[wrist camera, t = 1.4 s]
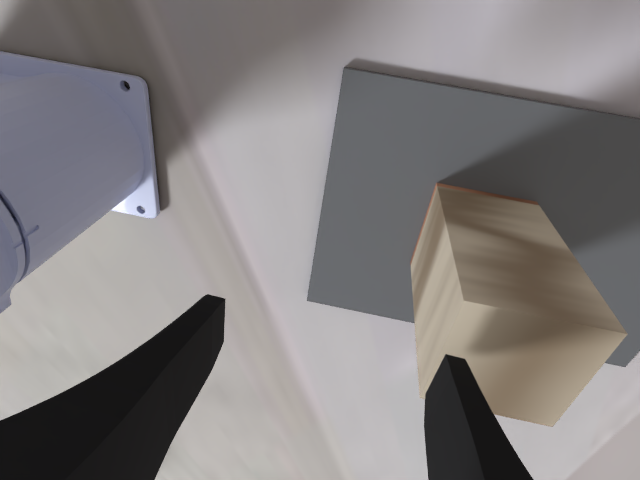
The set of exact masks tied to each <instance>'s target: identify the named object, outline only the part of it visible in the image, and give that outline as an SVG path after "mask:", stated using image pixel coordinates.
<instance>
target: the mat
mask: <svg viewBox="0 0 640 480" xmlns="http://www.w3.org/2000/svg"><path fill="white" fill-rule="evenodd" d="M436 183H440V184H446V185H451V186H456V187H462V188H467V189H472V190H477V191H483V192H488V193H493V194H499V195H504V196H509V197H514V198H520V199H525V200H530V201H536V202H537V203H538V204H539V206H540V207H541V209H542V210H543V212H544V213H545V214H546V216H547V217H548V219H549V220H550V222H551V223H552V225H553V226H554V228H555V229H556V230H557V232H558V233H559V235H560V236H561V238H562V239H563V241H564V242H565V244H566V245H567V246H568V248H569V249H570V251H571V252H572V254H573V255H574V257H575V258H576V260H577V261H578V262H579V264H580V265H581V267H582V268H583V270H584V271H585V273H586V274H587V276H588V277H589V278H590V280H591V281H592V283H593V284H594V286H595V287H596V289H597V290H598V292H599V293H600V294H601V296H602V297H603V299H604V300H605V302H606V303H607V305H608V306H609V308H610V309H611V311H612V312H613V313H614V315H615V316H616V318H617V319H618V321H619V322H620V324H621V325H622V327H623V328H624V329H625V331H626V332H627V336H626V337H625V338H624V339H623V341H622V342H621V343H620V344H619V345H618V347H617V348H616V349H615V350H614V352H613V353H612V354H611V355H610V357H609V358H608V359H607V360H606V362H605V363H608V364H613V365H617V366H622V367H626V366H627V364H628V363H629V362H630V361H631V360H632V359H633V358H634V356H635V355H636V354H637V353H638V352H639V351H640V119H638V118H632V117H627V116H621V115H615V114H610V113H604V112H598V111H593V110H587V109H581V108H575V107H570V106H564V105H558V104H553V103H547V102H541V101H536V100H530V99H524V98H519V97H513V96H507V95H502V94H496V93H490V92H485V91H479V90H473V89H467V88H462V87H456V86H450V85H445V84H439V83H433V82H428V81H422V80H416V79H411V78H405V77H399V76H394V75H388V74H382V73H377V72H371V71H365V70H359V69H354V68H348V67H344V70H343V76H342V83H341V89H340V95H339V102H338V108H337V114H336V121H335V127H334V133H333V139H332V146H331V152H330V158H329V165H328V171H327V177H326V184H325V190H324V196H323V203H322V209H321V215H320V221H319V228H318V234H317V240H316V247H315V253H314V259H313V266H312V272H311V278H310V284H309V291H308V297H307V301H311V302H315V303H320V304H325V305H330V306H335V307H339V308H344V309H349V310H354V311H359V312H363V313H368V314H373V315H378V316H382V317H387V318H392V319H397V320H402V321H406V322H411V323H415V322H414V307H413V293H412V279H411V265H410V261H411V258H412V255H413V252H414V249H415V246H416V243H417V240H418V237H419V234H420V231H421V228H422V225H423V222H424V219H425V216H426V213H427V210H428V207H429V204H430V200H431V197H432V194H433V191H434V188H435V185H436Z"/></svg>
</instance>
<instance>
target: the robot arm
mask: <svg viewBox="0 0 640 480" xmlns="http://www.w3.org/2000/svg"><path fill="white" fill-rule="evenodd" d="M124 81H126V82H127V83H128V84H129V86H130V90H129V89H127V88H126V87H125V85H124ZM140 206H142V207H143V208H144V209H145V210H142V209H141V207H140ZM110 210H111V211H116V212H121V213H126V214H131V215H136V216H141V217H146V218H155V217H157V216H158V215H159V213H160V205H159V195H158V185H157V175H156V165H155V155H154V145H153V135H152V125H151V115H150V104H149V94H148V87H147V84H146V82H145V81H144V80H143V79H142V78H141V77H139V76H135V75H129V74H124V73H118V72H113V71H107V70H102V69H96V68H91V67H85V66H80V65H74V64H69V63H63V62H58V61H52V60H47V59H41V58H36V57H30V56H25V55H19V54H14V53H9V52H3V51H0V313H2V312H3V311H4V310H5V309H6V308H8V307H9V306H10V305H11V300H10V292H11V289H12V288H13V287H14V286H15V285H16V284H17V283H18V282H20V281H21V280H22V279H24V278H25V277H26V276H28V275H29V274H30V273H31V272H33V271H34V270H35V269H36V268H38V267H39V266H40V265H42V264H43V263H44V262H45V261H47V260H48V259H49V258H50V257H52V256H53V255H54V254H56V253H57V252H58V251H59V250H61V249H62V248H63V247H64V246H66V245H67V244H68V243H70V242H71V241H72V240H73V239H75V238H76V237H77V236H78V235H80V234H81V233H82V232H84V231H85V230H86V229H87V228H89V227H90V226H91V225H92V224H94V223H95V222H96V221H98V220H99V219H100V218H101V217H103V216H104V215H105V214H106V213H108V212H109V211H110ZM224 318H225V299H224V298H220V297H216V296H212V295H208V294H207V295H205V296H204V297H202V298H201V299H200V300H199V301H198V302H197V303H195V304H194V305H193V306H192V307H191V308H189V309H188V310H187V311H186V312H185V313H183V314H182V315H181V316H180V317H178V318H177V319H176V320H175V321H173V322H172V323H171V324H170V325H168V326H167V327H166V328H164V329H163V330H162V331H160V332H159V333H158V334H156V335H155V336H154V337H152V338H151V339H150V340H148V341H147V342H145V343H144V344H142V345H141V346H140V347H138V348H137V349H135V350H134V351H132V352H131V353H129V354H128V355H127V356H125V357H123V358H122V359H120V360H119V361H117V362H116V363H114V364H112V365H111V366H109V367H107V368H106V369H104V370H102V371H101V372H99V373H97V374H96V375H94V376H92V377H90V378H88V379H87V380H85V381H83V382H81V383H79V384H77V385H76V386H74V387H72V388H70V389H68V390H66V391H64V392H62V393H60V394H58V395H56V396H54V397H52V398H50V399H48V400H46V401H43V402H41V403H39V404H37V405H35V406H33V407H30V408H28V409H26V410H24V411H22V412H20V413H17V414H15V415H13V416H10V417H8V418H6V419H3V420H1V421H0V480H155V477H156V475H157V473H158V471H159V468H160V466H161V464H162V462H163V460H164V457H165V455H166V453H167V451H168V448H169V446H170V444H171V442H172V440H173V439H174V437H175V435H176V433H177V431H178V429H179V427H180V426H181V424H182V422H183V420H184V419H185V417H186V415H187V413H188V412H189V410H190V408H191V406H192V405H193V403H194V401H195V399H196V397H197V396H198V394H199V392H200V390H201V389H202V387H203V385H204V383H205V381H206V380H207V378H208V376H209V374H210V372H211V371H212V368H213V366H214V364H215V361H216V359H217V357H218V354H219V352H220V350H221V347H222V345H223V342H224ZM424 430H425V443H426V455H427V467H428V479H429V480H533V479H532V477H531V476H530V474H529V472H528V471H527V469H526V468H525V466H524V465H523V463H522V462H521V460H520V458H519V457H518V455H517V454H516V452H515V450H514V449H513V447H512V445H511V444H510V442H509V440H508V439H507V437H506V435H505V434H504V432H503V430H502V428H501V426H500V425H499V423H498V421H497V419H496V417H495V416H494V414H493V412H492V410H491V408H490V406H489V405H488V403H487V401H486V399H485V397H484V395H483V393H482V391H481V389H480V387H479V385H478V383H477V381H476V379H475V377H474V375H473V373H472V371H471V369H470V367H469V365H468V363H467V361H466V360H465V359H464V358H460V357H456V356H452V355H448V354H445V356H444V358H443V360H442V362H441V364H440V366H439V368H438V370H437V372H436V374H435V376H434V378H433V380H432V382H431V384H430V386H429V388H428V390H427V392H426V394H425V417H424Z"/></svg>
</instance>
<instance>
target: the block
mask: <svg viewBox="0 0 640 480" xmlns="http://www.w3.org/2000/svg"><path fill="white" fill-rule="evenodd" d="M410 265H411V279H412V293H413V307H414V322H415V336H416V350H417V364H418V379H419V393H420V398H422V399H425V394H426V392H427V390H428V388H429V386H430V384H431V382H432V380H433V378H434V376H435V374H436V372H437V370H438V368H439V366H440V364H441V362H442V360H443V358H444V356H445V354H448V355H452V356H456V357H460V358H464V359H465V360H466V361H467V363H468V365H469V367H470V369H471V371H472V373H473V375H474V377H475V379H476V381H477V383H478V385H479V387H480V389H481V391H482V393H483V395H484V397H485V399H486V401H487V403H488V405H489V406H490V408H491V410H492V412H493V414H495V415H500V416H505V417H509V418H514V419H518V420H523V421H527V422H532V423H537V424H541V425H546V426H550V427H553V426H554V425H555V423H556V422H557V421H558V420H559V418H560V417H561V416H562V415H563V413H564V412H565V411H566V410H567V408H568V407H569V406H570V405H571V404H572V402H573V401H574V400H575V399H576V397H577V396H578V395H579V394H580V392H581V391H582V390H583V389H584V387H585V386H586V385H587V384H588V383H589V381H590V380H591V379H592V378H593V376H594V375H595V374H596V373H597V371H598V370H599V369H600V368H601V366H602V365H603V364H604V363H605V362H606V360H607V359H608V358H609V357H610V355H611V354H612V353H613V352H614V350H615V349H616V348H617V347H618V345H619V344H620V343H621V342H622V341H623V339H624V338H625V337H626V336H627V332H626V331H625V329H624V328H623V327H622V325H621V324H620V322H619V321H618V319H617V318H616V316H615V315H614V313H613V312H612V311H611V309H610V308H609V306H608V305H607V303H606V302H605V300H604V299H603V297H602V296H601V294H600V293H599V292H598V290H597V289H596V287H595V286H594V284H593V283H592V281H591V280H590V278H589V277H588V276H587V274H586V273H585V271H584V270H583V268H582V267H581V265H580V264H579V262H578V261H577V260H576V258H575V257H574V255H573V254H572V252H571V251H570V249H569V248H568V246H567V245H566V244H565V242H564V241H563V239H562V238H561V236H560V235H559V233H558V232H557V230H556V229H555V228H554V226H553V225H552V223H551V222H550V220H549V219H548V217H547V216H546V214H545V213H544V212H543V210H542V209H541V207H540V206H539V204H538V203H537V202H536V201H530V200H525V199H520V198H514V197H509V196H504V195H499V194H493V193H488V192H483V191H477V190H472V189H467V188H462V187H456V186H451V185H446V184H440V183H436V185H435V188H434V191H433V194H432V197H431V200H430V204H429V207H428V210H427V213H426V216H425V219H424V222H423V225H422V228H421V231H420V234H419V237H418V240H417V243H416V246H415V249H414V252H413V255H412V258H411V261H410Z"/></svg>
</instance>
